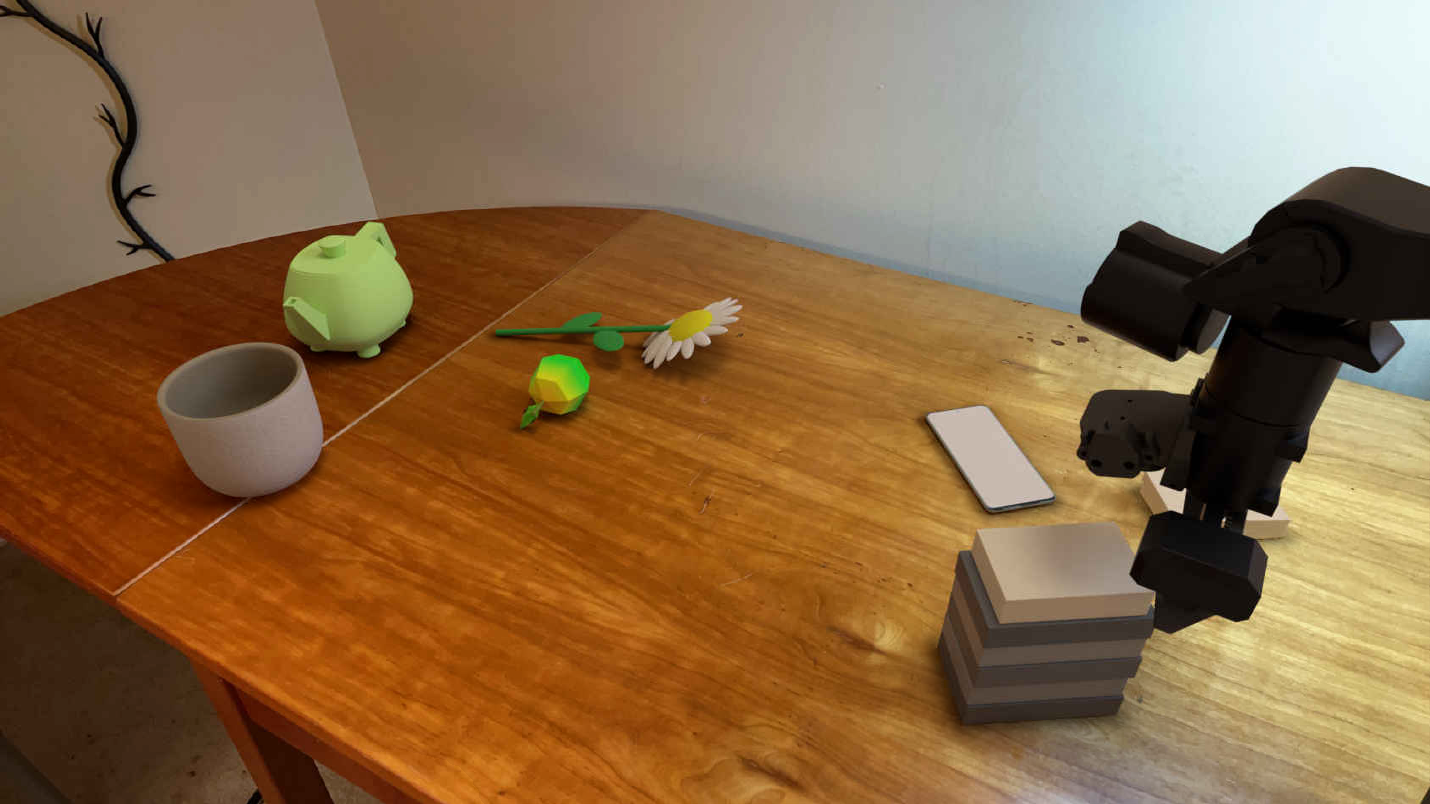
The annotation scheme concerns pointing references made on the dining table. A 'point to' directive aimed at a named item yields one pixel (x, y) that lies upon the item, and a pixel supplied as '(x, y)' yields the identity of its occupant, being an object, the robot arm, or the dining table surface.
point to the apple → (556, 386)
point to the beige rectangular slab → (1254, 527)
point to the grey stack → (1034, 658)
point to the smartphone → (990, 459)
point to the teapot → (347, 292)
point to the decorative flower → (663, 339)
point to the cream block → (1059, 572)
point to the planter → (244, 418)
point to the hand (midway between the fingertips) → (1175, 581)
